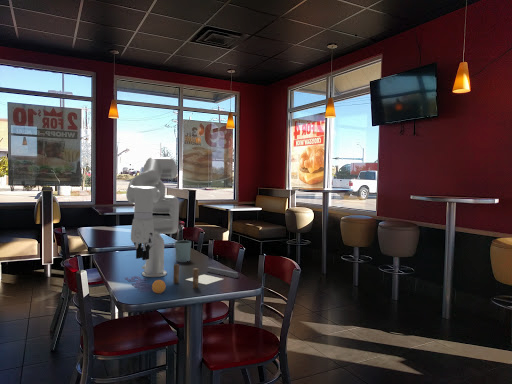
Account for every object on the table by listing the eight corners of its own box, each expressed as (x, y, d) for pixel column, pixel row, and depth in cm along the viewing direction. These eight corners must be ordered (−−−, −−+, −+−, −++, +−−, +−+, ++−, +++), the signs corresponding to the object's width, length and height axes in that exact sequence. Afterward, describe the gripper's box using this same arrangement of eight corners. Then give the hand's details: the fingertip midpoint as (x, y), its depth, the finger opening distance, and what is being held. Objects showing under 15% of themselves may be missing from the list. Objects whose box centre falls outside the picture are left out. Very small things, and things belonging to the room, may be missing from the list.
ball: (148, 293, 173) (149, 280, 173) (159, 290, 178) (159, 277, 178) (158, 296, 170) (158, 282, 170) (168, 292, 175) (168, 279, 174)
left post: (172, 282, 191) (172, 264, 191) (176, 281, 193) (176, 264, 193) (176, 283, 190) (176, 265, 190) (179, 282, 192) (180, 264, 192)
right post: (191, 287, 184) (192, 269, 184) (195, 286, 186) (195, 268, 186) (195, 288, 182) (196, 269, 182) (199, 287, 185) (199, 268, 184)
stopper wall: (207, 271, 216) (207, 267, 216) (209, 271, 218) (209, 266, 217) (235, 277, 205) (235, 273, 205) (237, 277, 206) (237, 272, 206)
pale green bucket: (192, 259, 248) (193, 240, 247) (188, 262, 238) (188, 243, 237) (177, 258, 249) (177, 240, 248) (172, 261, 239) (172, 242, 238)
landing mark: (185, 279, 198) (185, 279, 198) (203, 274, 209) (203, 274, 209) (206, 284, 190) (206, 284, 190) (223, 279, 201) (224, 278, 201)
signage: (123, 277, 197) (142, 275, 203) (123, 278, 197) (142, 276, 203) (140, 291, 174) (161, 288, 180) (140, 293, 174) (161, 290, 180)
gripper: (123, 215, 166) (122, 257, 167) (149, 218, 157) (148, 263, 158) (137, 214, 173) (137, 255, 173) (163, 217, 163) (162, 260, 164)
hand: (142, 258), depth 165 cm, fingers open, 3 cm apart
